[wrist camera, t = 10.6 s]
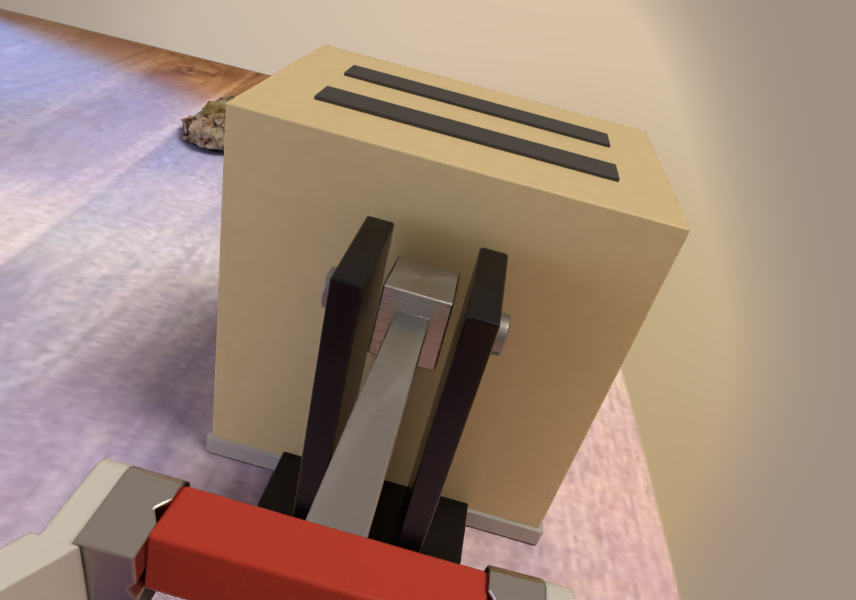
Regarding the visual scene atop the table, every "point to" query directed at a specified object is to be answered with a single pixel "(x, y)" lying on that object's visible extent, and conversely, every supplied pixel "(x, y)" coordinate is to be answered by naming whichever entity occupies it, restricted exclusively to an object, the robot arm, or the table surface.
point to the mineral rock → (207, 125)
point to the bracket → (340, 383)
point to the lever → (327, 491)
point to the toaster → (436, 261)
